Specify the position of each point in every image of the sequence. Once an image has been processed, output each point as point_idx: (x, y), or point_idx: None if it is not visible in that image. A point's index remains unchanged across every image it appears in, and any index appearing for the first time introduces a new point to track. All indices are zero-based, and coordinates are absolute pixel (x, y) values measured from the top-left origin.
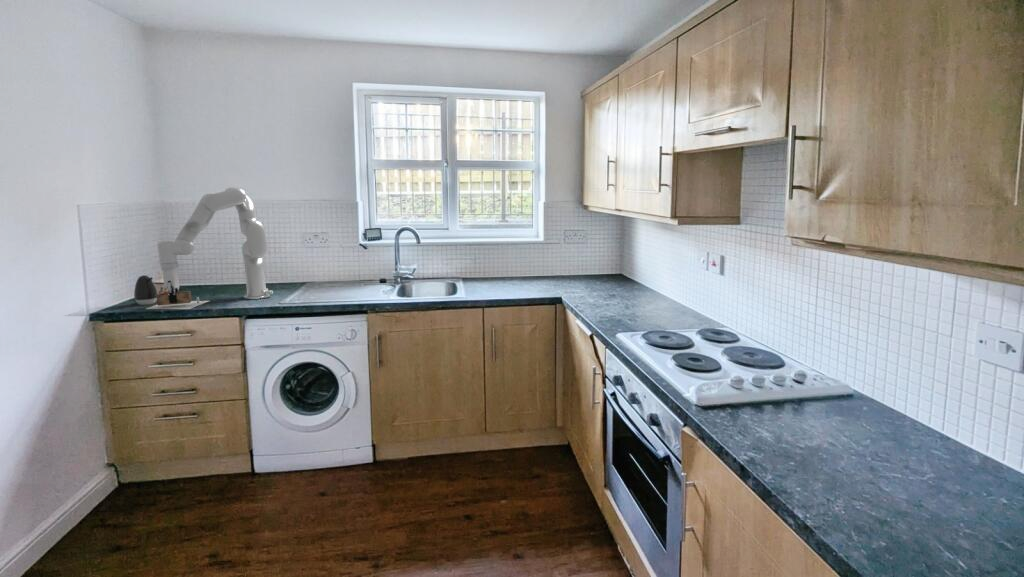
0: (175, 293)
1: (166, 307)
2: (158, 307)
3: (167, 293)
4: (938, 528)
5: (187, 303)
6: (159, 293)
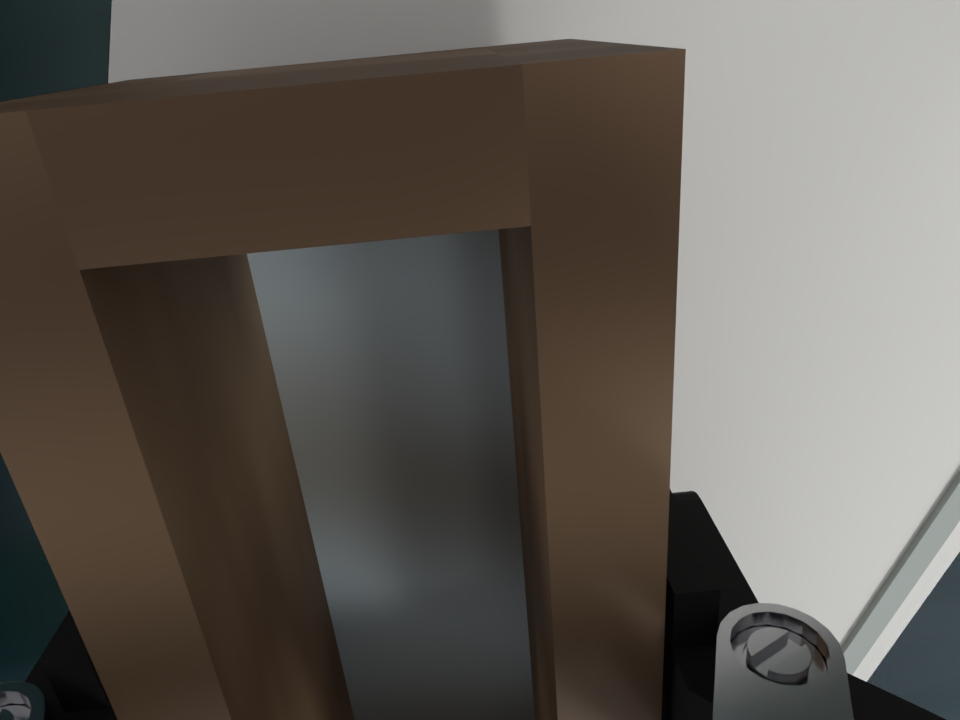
0: (550, 708)
1: None
2: (328, 27)
3: (540, 490)
4: None
5: None
6: (654, 76)
